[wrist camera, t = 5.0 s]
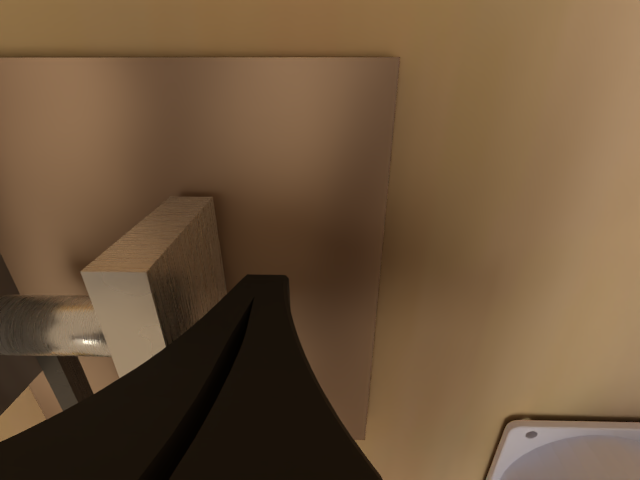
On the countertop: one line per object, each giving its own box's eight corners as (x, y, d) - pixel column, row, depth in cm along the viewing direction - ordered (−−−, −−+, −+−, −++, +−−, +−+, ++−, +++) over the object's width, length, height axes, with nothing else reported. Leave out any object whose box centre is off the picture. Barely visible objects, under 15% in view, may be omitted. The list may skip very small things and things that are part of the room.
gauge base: (393, 57, 9) (520, 42, 3) (363, 419, 16) (384, 641, 10) (-107, 58, 10) (-890, 45, 3) (69, 413, 16) (-90, 625, 10)
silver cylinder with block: (213, 195, 10) (145, 272, 6) (246, 416, 14) (217, 539, 11) (24, 194, 10) (-152, 268, 6) (113, 414, 14) (39, 534, 11)
